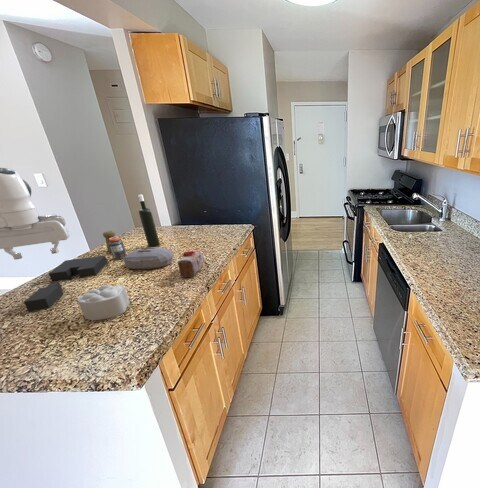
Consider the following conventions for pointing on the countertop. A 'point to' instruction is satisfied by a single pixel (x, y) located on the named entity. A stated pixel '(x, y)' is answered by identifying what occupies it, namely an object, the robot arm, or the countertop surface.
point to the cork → (108, 235)
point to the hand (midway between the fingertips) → (37, 255)
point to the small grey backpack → (148, 258)
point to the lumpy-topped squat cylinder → (104, 302)
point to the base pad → (78, 268)
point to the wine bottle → (148, 224)
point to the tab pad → (44, 297)
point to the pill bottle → (117, 248)
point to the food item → (190, 263)
